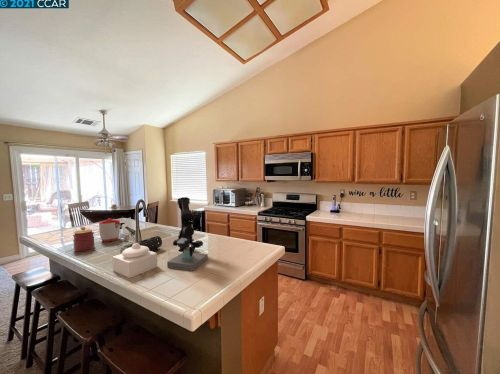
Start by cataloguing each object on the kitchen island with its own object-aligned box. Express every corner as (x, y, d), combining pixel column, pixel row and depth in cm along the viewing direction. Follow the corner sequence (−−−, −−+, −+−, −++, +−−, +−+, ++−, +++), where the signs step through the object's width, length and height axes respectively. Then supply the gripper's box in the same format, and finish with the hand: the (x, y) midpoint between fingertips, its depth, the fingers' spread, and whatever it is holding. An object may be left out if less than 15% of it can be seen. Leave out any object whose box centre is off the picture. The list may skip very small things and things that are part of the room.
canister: (69, 250, 166) (68, 228, 165) (87, 245, 178) (86, 224, 177) (80, 253, 161) (79, 229, 160) (98, 247, 173) (97, 225, 172)
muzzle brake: (162, 249, 167) (162, 236, 167) (129, 262, 142) (128, 247, 142) (153, 247, 172) (153, 234, 171) (119, 260, 146) (118, 245, 146)
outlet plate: (167, 267, 134) (167, 261, 134) (184, 256, 151) (184, 251, 151) (193, 270, 129) (193, 264, 129) (207, 259, 146) (207, 254, 146)
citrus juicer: (115, 242, 185) (114, 219, 184) (95, 243, 185) (94, 219, 184) (126, 237, 200) (125, 216, 199) (107, 237, 201) (106, 216, 200)
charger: (183, 261, 139) (183, 249, 138) (187, 259, 142) (187, 247, 142) (189, 262, 137) (189, 249, 137) (192, 259, 141) (192, 247, 141)
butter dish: (129, 278, 120) (128, 250, 120) (112, 271, 130) (111, 245, 129) (157, 267, 135) (156, 241, 134) (141, 261, 145) (140, 237, 144)
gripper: (166, 234, 134) (167, 259, 135) (193, 236, 128) (194, 262, 129) (178, 230, 145) (178, 253, 145) (203, 232, 139) (203, 256, 140)
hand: (188, 256), depth 140 cm, fingers closed on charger, 4 cm apart
